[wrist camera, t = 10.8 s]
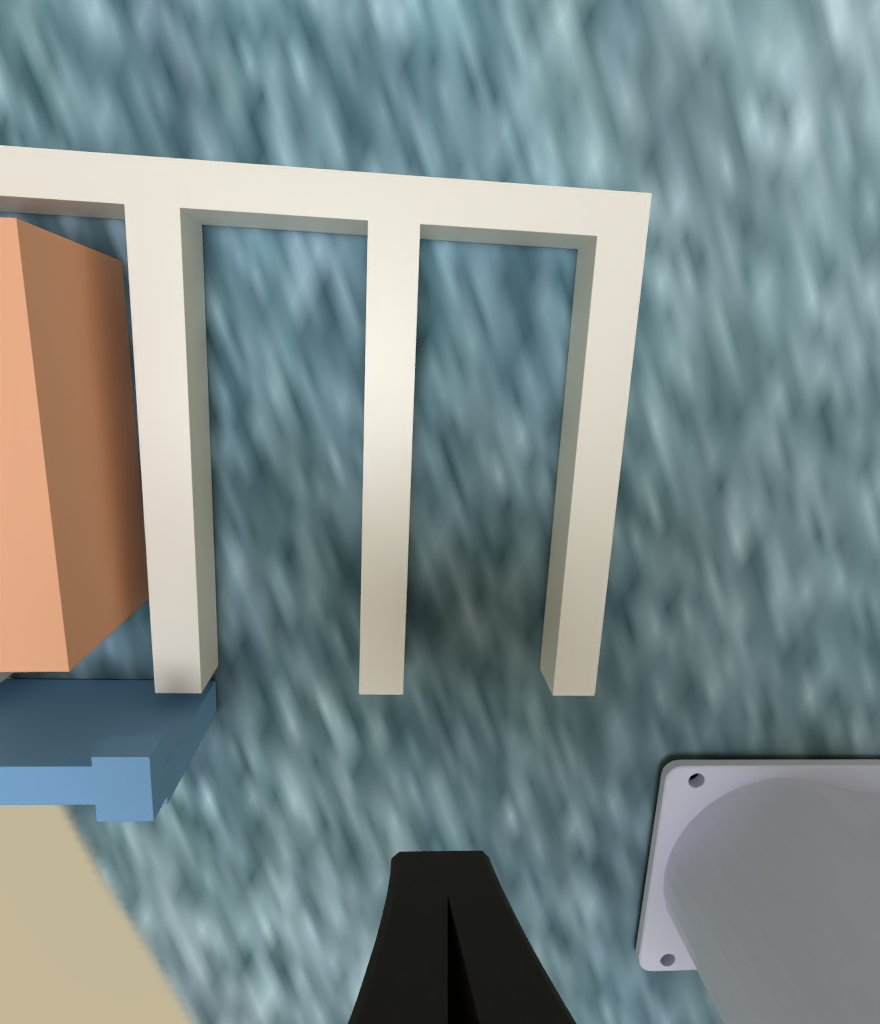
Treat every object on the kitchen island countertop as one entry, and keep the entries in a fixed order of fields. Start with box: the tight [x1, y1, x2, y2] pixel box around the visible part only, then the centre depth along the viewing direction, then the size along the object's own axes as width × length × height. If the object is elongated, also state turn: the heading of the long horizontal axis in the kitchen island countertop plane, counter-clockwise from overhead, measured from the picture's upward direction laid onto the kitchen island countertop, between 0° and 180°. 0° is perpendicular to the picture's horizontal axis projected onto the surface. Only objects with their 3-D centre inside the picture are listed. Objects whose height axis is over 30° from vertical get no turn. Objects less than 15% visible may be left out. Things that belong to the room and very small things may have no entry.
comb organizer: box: [0, 145, 652, 696], centre depth 16 cm, size 17×13×2 cm
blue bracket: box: [0, 679, 217, 822], centre depth 15 cm, size 6×2×5 cm, turn 87°
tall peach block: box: [0, 217, 149, 672], centre depth 14 cm, size 3×9×4 cm, turn 178°
